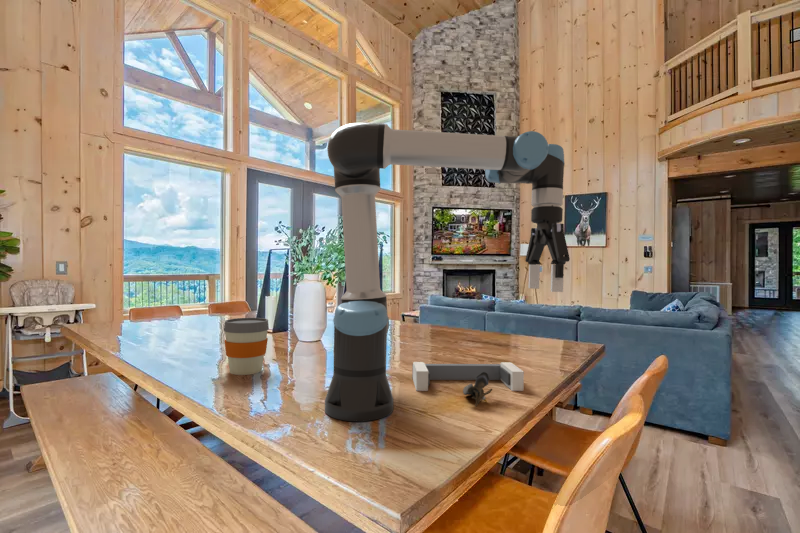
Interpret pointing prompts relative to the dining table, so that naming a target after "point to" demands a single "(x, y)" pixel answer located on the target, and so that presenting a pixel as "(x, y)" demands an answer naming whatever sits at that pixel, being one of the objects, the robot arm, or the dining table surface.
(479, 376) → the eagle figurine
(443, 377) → the rail
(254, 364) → the reusable coffee cup
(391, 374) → the dining table surface
